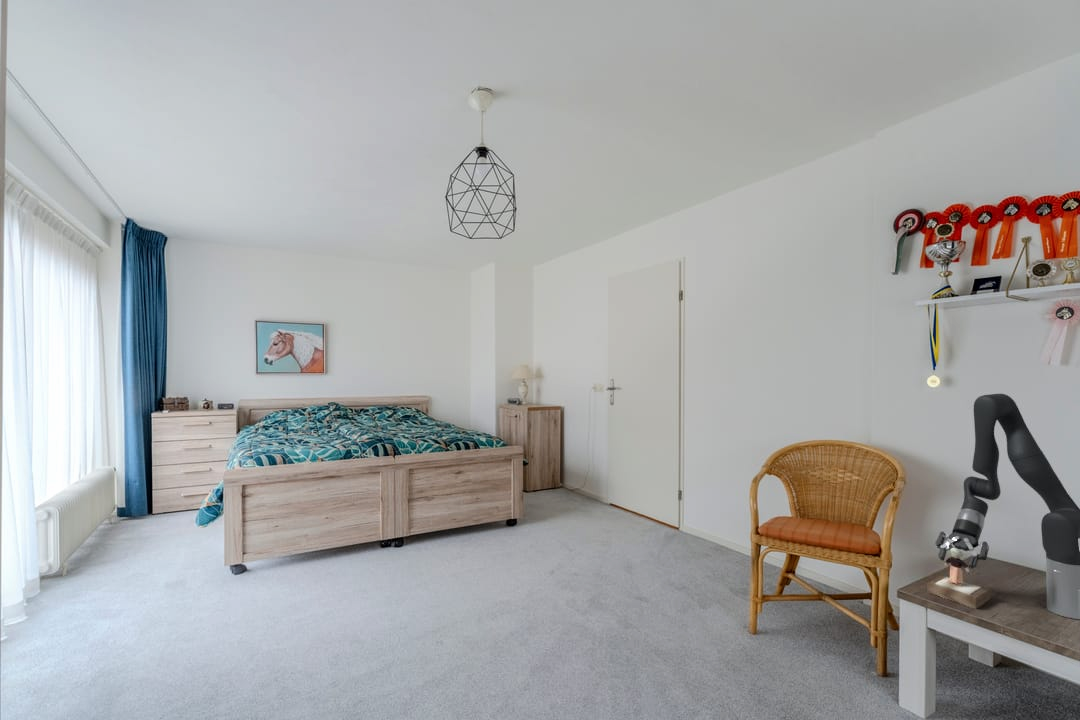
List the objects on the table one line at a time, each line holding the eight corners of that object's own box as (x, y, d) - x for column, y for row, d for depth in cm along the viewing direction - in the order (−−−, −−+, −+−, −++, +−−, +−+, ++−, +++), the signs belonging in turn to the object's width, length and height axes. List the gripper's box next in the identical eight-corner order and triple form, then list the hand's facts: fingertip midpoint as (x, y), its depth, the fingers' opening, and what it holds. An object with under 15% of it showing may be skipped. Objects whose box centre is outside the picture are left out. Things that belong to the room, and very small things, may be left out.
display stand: (990, 599, 179) (989, 588, 179) (975, 608, 173) (975, 596, 173) (942, 585, 191) (942, 574, 191) (927, 593, 185) (926, 581, 185)
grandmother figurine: (941, 582, 184) (940, 546, 185) (945, 579, 187) (944, 544, 187) (968, 589, 178) (967, 552, 178) (972, 586, 180) (971, 550, 181)
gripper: (942, 513, 192) (928, 551, 186) (990, 523, 180) (977, 564, 174) (948, 525, 195) (935, 562, 189) (997, 536, 182) (984, 576, 177)
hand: (955, 563), depth 181 cm, fingers open, 8 cm apart
